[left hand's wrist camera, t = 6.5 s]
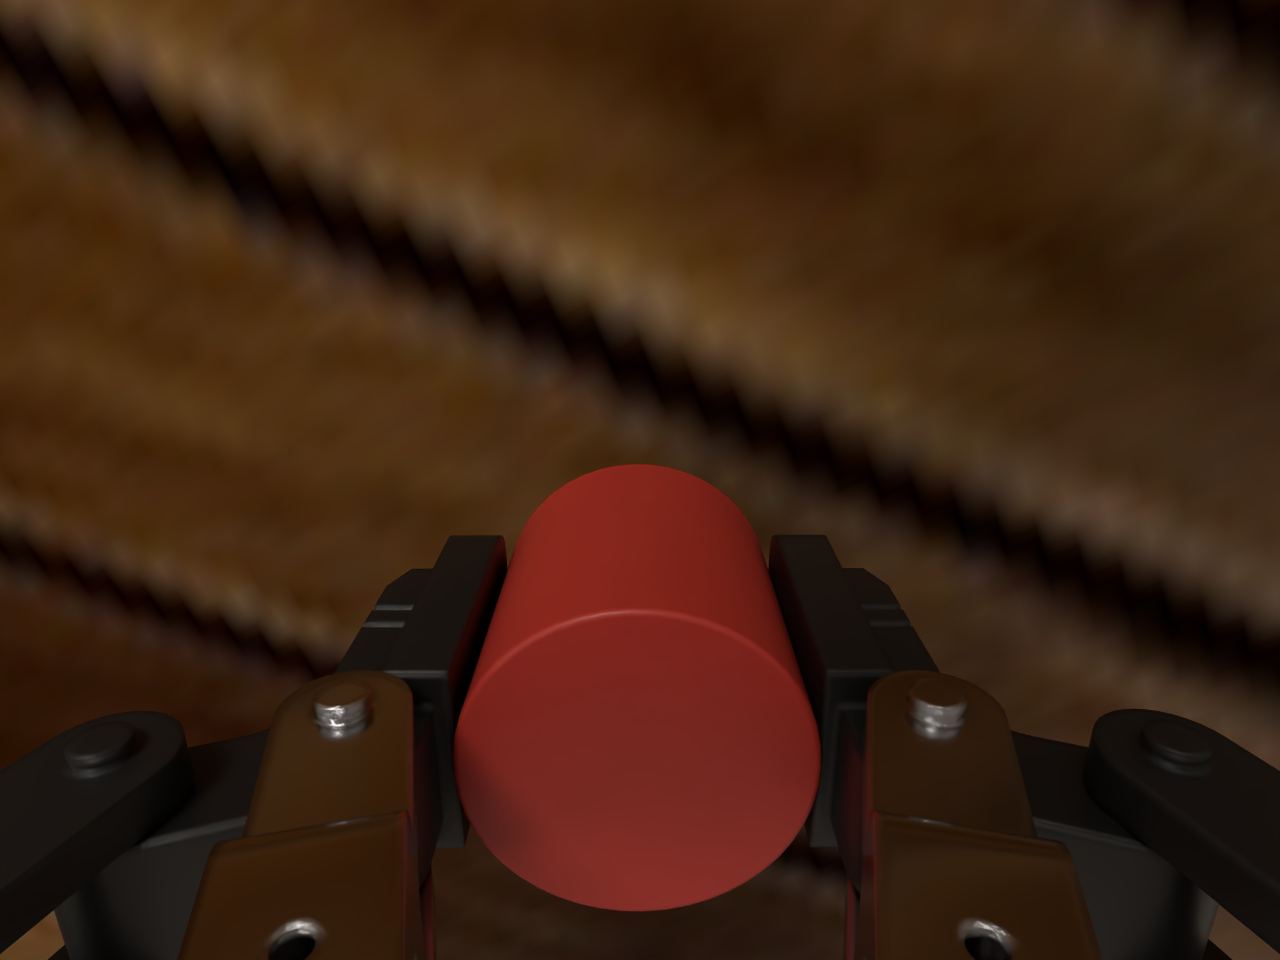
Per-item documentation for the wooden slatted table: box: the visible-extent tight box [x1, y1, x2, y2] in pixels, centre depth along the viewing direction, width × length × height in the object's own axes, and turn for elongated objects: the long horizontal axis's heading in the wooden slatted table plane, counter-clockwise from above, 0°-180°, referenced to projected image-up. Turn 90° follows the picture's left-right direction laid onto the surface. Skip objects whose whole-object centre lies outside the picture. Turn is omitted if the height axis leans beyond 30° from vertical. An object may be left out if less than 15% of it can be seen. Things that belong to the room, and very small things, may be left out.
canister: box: [452, 464, 822, 911], centre depth 11 cm, size 4×4×4 cm
